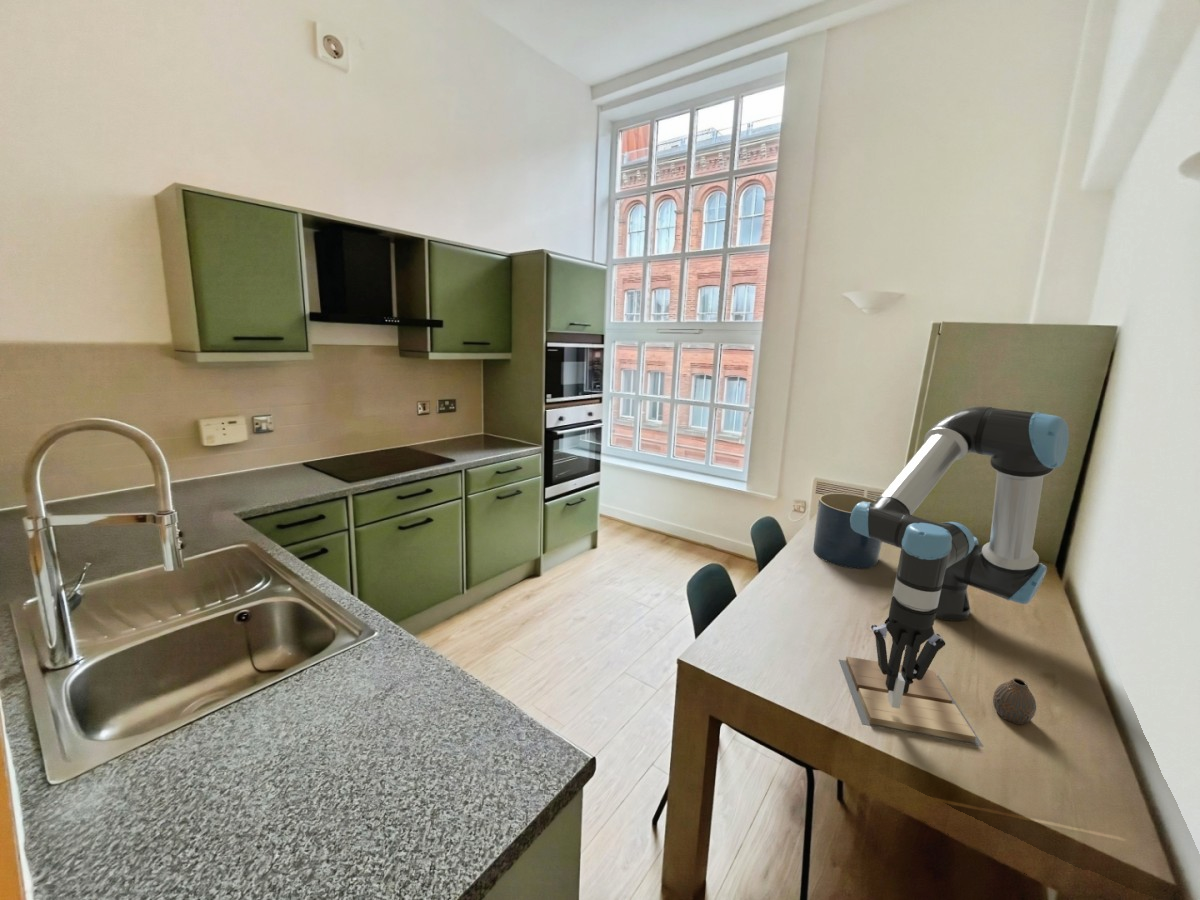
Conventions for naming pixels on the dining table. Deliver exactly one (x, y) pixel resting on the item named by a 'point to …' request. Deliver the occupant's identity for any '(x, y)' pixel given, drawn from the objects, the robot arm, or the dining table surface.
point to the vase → (1014, 701)
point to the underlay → (866, 722)
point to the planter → (843, 533)
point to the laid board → (872, 677)
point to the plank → (916, 715)
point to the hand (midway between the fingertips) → (893, 703)
